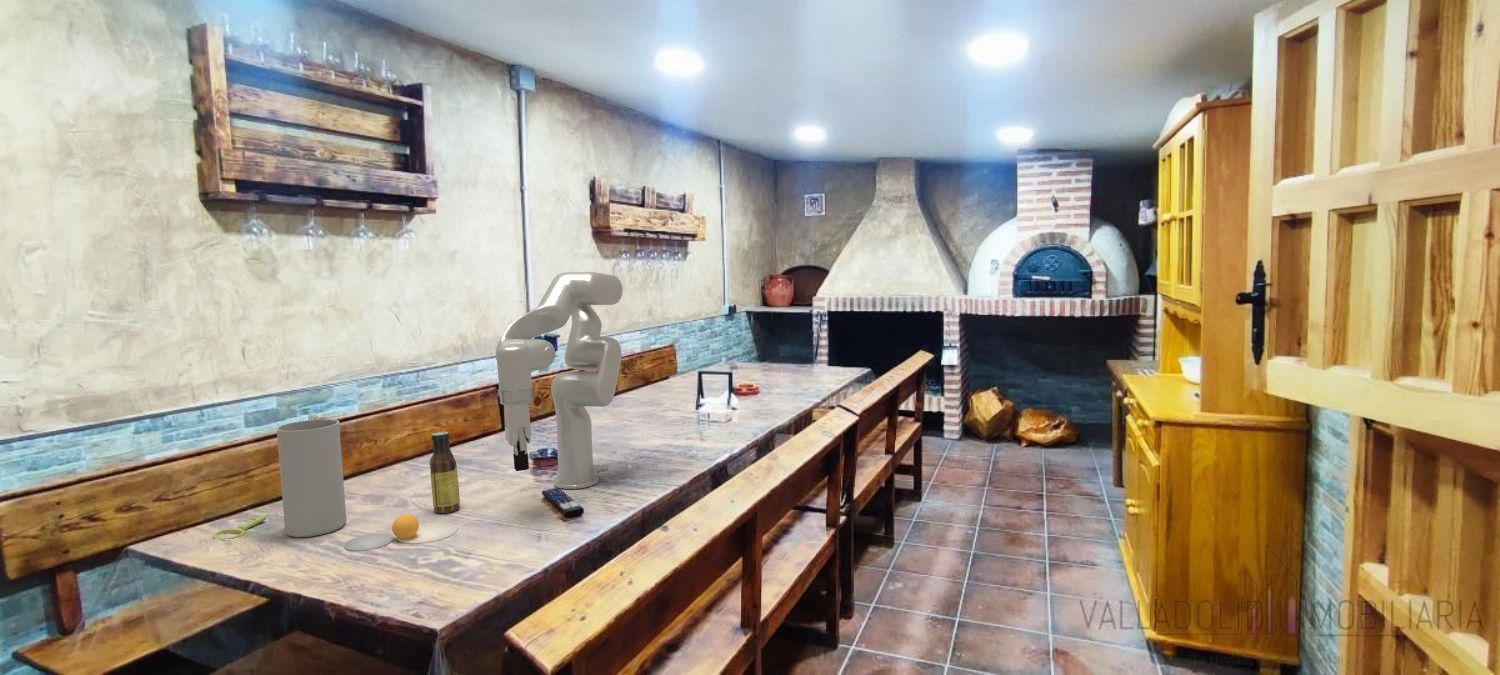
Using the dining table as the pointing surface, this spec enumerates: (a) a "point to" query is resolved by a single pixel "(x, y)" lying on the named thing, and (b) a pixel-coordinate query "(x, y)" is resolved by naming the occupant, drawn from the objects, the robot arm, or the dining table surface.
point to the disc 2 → (431, 532)
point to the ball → (405, 526)
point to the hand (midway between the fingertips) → (521, 469)
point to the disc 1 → (368, 542)
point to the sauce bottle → (444, 475)
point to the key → (239, 529)
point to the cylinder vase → (311, 477)
